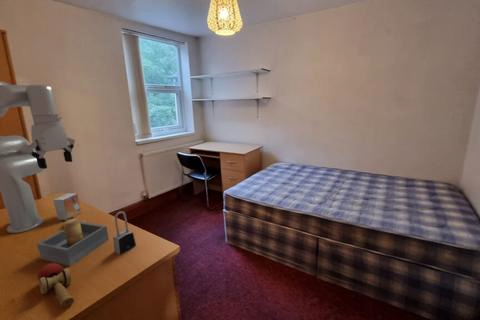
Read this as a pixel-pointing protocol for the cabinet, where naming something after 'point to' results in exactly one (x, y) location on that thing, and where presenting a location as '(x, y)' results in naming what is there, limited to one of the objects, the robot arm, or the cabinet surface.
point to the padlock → (123, 238)
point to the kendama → (56, 282)
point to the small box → (67, 206)
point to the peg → (72, 231)
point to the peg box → (59, 250)
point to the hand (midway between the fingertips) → (56, 164)
